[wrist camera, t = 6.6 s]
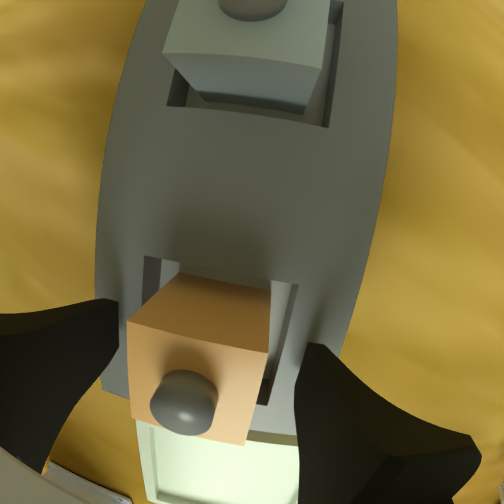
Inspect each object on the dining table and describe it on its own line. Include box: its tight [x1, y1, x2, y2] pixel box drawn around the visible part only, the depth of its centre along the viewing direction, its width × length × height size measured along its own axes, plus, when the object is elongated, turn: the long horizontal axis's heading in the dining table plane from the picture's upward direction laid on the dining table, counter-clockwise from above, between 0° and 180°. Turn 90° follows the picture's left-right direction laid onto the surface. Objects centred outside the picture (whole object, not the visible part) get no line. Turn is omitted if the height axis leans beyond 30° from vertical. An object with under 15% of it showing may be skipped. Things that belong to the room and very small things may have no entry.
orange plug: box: [127, 272, 271, 446], centre depth 10 cm, size 4×4×6 cm
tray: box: [136, 419, 299, 504], centre depth 15 cm, size 12×12×1 cm
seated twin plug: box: [162, 0, 330, 115], centre depth 8 cm, size 4×4×6 cm
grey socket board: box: [95, 0, 397, 436], centre depth 11 cm, size 10×20×2 cm, turn 170°
